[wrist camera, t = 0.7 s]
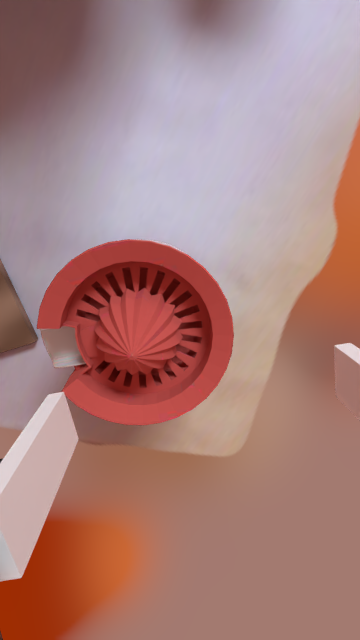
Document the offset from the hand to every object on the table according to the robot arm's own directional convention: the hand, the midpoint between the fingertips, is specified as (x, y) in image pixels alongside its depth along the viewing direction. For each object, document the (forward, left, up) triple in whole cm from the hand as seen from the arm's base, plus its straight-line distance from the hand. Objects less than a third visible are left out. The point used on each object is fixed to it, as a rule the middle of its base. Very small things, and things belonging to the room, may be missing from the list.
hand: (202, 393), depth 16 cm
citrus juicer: (0, -5, -27) cm, 28 cm away
